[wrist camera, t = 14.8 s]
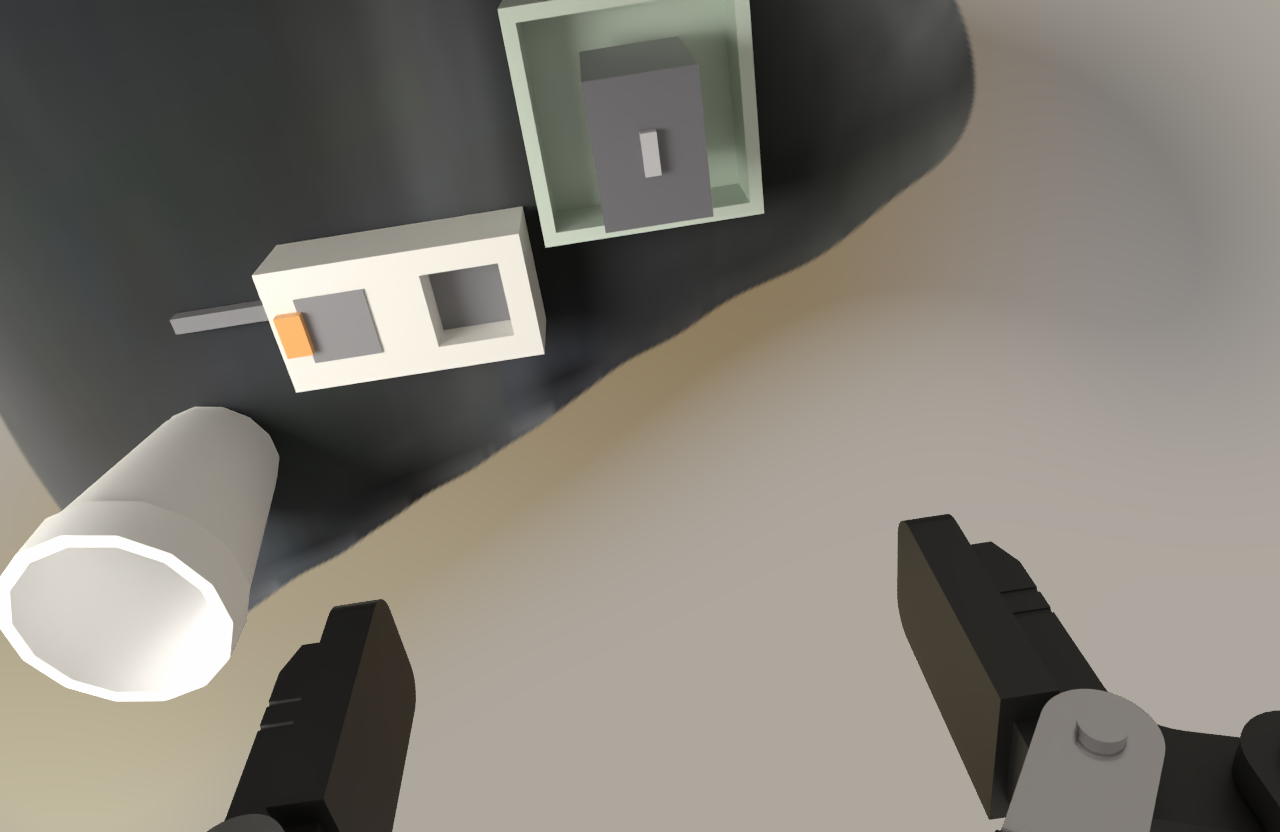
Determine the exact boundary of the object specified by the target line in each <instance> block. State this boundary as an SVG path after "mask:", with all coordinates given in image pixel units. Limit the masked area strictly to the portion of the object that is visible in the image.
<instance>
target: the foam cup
mask: <svg viewBox="0 0 1280 832" xmlns="http://www.w3.org/2000/svg"><path fill="white" fill-rule="evenodd" d="M278 466H279V455H278V452H277V450H276V448H275V446H274V443H273V441H272V439H271V437H270V435H269V434H268V433H267V432H266V431H264V430H263V429H262V428H261V427H260V426H259V425H258V424H257V423H255V422H254V421H253V420H252V419H251V418H250V417H247V416H245V415H242V414H240V413H237V412H235V411H232V410H229V409H227V408H224V407H193V408H191V409H188V410H186V411H184V412H181V413H179V414H177V415H174V416H172V417H171V419H170V420H168V421H166V422H165V423H164V424H162V425H161V426H160V427H159V428H158V429H157V430H155V431H154V432H153V433H152V434H151V435H150V436H148V437H147V438H146V439H145V440H144V441H143V442H141V443H140V444H139V445H138V446H137V447H136V448H135V449H133V450H132V451H131V452H130V453H129V454H128V455H126V456H125V457H124V458H123V459H122V460H121V461H119V462H118V463H117V464H116V465H115V466H114V467H112V468H111V469H110V470H109V471H108V472H107V473H105V474H104V475H103V476H102V477H101V478H100V479H99V480H97V481H96V482H95V483H94V484H93V485H92V486H90V487H89V488H88V489H87V490H86V491H85V492H83V493H82V494H81V495H80V496H79V497H78V498H76V499H75V500H74V501H73V502H72V503H71V504H70V505H68V506H67V507H66V508H65V509H64V510H63V511H61V512H60V513H58V514H55V515H53V516H50V517H48V518H46V519H45V520H44V521H43V522H42V524H41V525H40V526H39V527H38V528H37V530H36V531H35V532H34V533H33V534H32V536H31V537H30V538H29V539H28V540H27V542H26V543H25V544H24V545H23V546H22V548H21V549H20V550H19V551H18V553H17V554H16V555H15V556H14V558H13V559H12V561H11V562H10V564H9V565H8V567H7V568H6V570H5V571H4V572H3V574H2V575H1V576H0V629H1V631H2V632H3V633H4V635H5V636H6V637H7V639H8V640H9V642H10V643H11V644H12V646H13V647H14V649H15V650H16V651H17V653H18V654H19V655H20V657H21V658H22V660H23V661H25V662H27V663H28V664H30V665H32V666H33V667H34V668H36V669H37V670H39V671H41V672H42V673H44V674H45V675H47V676H48V677H50V678H52V679H53V680H55V681H56V682H58V683H59V684H61V685H63V686H64V687H66V688H70V689H73V690H77V691H80V692H84V693H87V694H91V695H94V696H98V697H101V698H105V699H109V700H112V701H118V702H120V701H166V700H169V699H172V698H174V697H177V696H180V695H182V694H185V693H188V692H190V691H193V690H195V689H198V688H201V687H204V686H206V685H207V684H208V682H209V681H210V680H211V679H212V678H213V677H214V676H215V675H216V674H217V672H218V671H219V670H220V669H221V668H222V667H223V666H224V664H225V663H226V662H227V661H228V660H229V659H230V657H231V655H232V653H233V650H234V648H235V646H236V644H237V641H238V639H239V637H240V634H241V632H242V630H243V628H244V626H245V623H246V621H247V612H248V602H249V591H250V586H251V582H252V578H253V574H254V570H255V566H256V562H257V558H258V554H259V550H260V546H261V542H262V538H263V534H264V530H265V526H266V522H267V518H268V514H269V510H270V506H271V502H272V498H273V494H274V490H275V486H276V479H277V475H278Z"/></svg>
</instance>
